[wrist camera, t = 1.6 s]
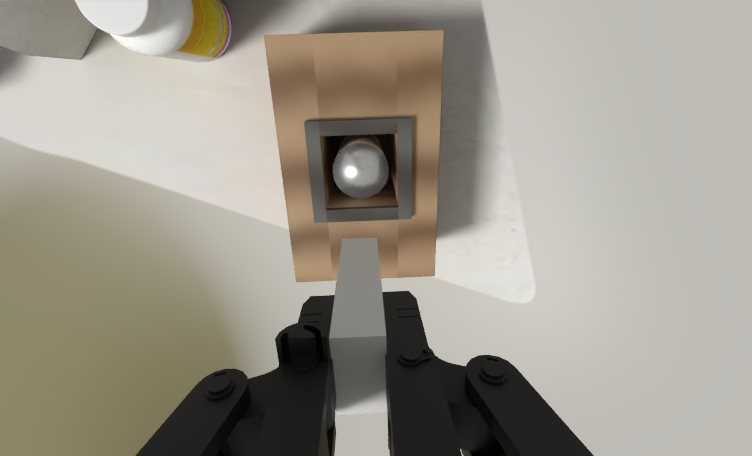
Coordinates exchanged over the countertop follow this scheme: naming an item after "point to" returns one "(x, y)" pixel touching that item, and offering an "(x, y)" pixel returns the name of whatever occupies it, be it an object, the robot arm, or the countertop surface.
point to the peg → (360, 166)
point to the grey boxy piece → (45, 28)
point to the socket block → (359, 117)
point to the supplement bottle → (164, 26)
